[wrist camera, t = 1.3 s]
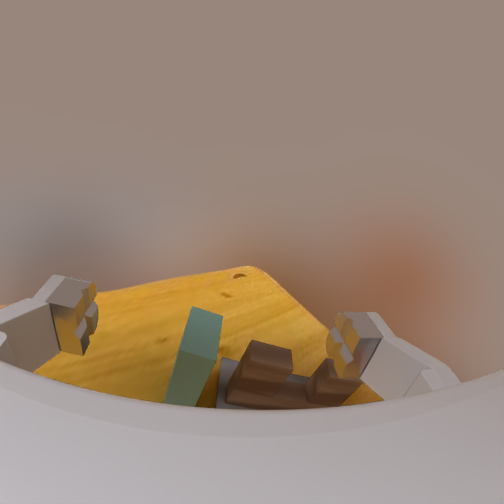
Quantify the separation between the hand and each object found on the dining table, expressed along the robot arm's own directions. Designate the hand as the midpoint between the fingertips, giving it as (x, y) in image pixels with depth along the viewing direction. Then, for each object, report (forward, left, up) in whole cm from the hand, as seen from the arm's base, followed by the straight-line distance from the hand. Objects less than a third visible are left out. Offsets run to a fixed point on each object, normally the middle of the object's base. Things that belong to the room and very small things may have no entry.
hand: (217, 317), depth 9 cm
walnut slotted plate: (+11, +16, -25) cm, 31 cm away
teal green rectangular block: (-1, +12, -25) cm, 28 cm away
